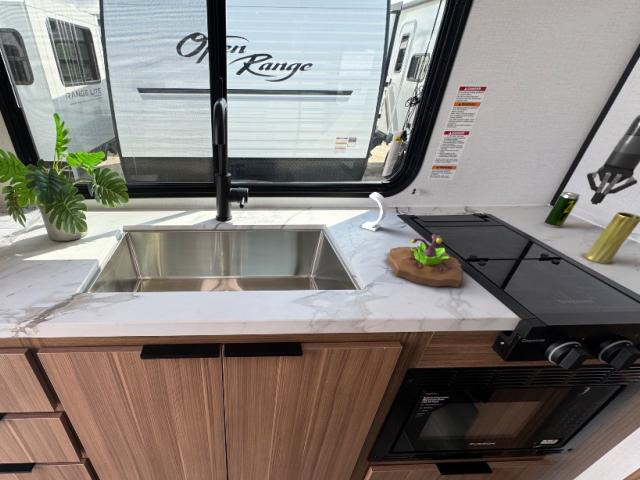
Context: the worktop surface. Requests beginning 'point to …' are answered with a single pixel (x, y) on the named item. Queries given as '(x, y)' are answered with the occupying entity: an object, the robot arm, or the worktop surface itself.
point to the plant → (426, 264)
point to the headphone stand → (383, 211)
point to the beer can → (561, 209)
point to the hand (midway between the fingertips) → (594, 203)
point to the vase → (613, 237)
